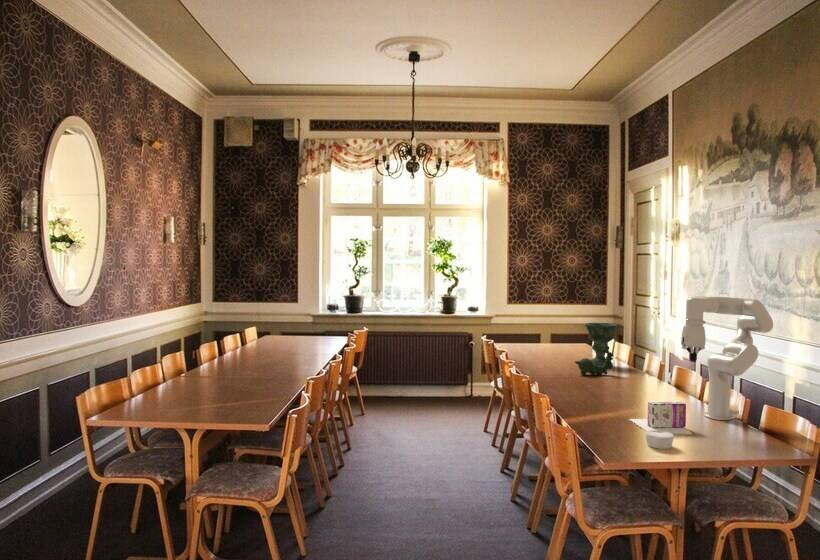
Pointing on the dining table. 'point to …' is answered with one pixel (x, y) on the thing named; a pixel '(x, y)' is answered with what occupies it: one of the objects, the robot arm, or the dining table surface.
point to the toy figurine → (592, 368)
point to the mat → (644, 425)
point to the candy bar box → (666, 414)
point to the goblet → (600, 339)
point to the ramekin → (659, 439)
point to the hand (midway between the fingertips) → (692, 361)
